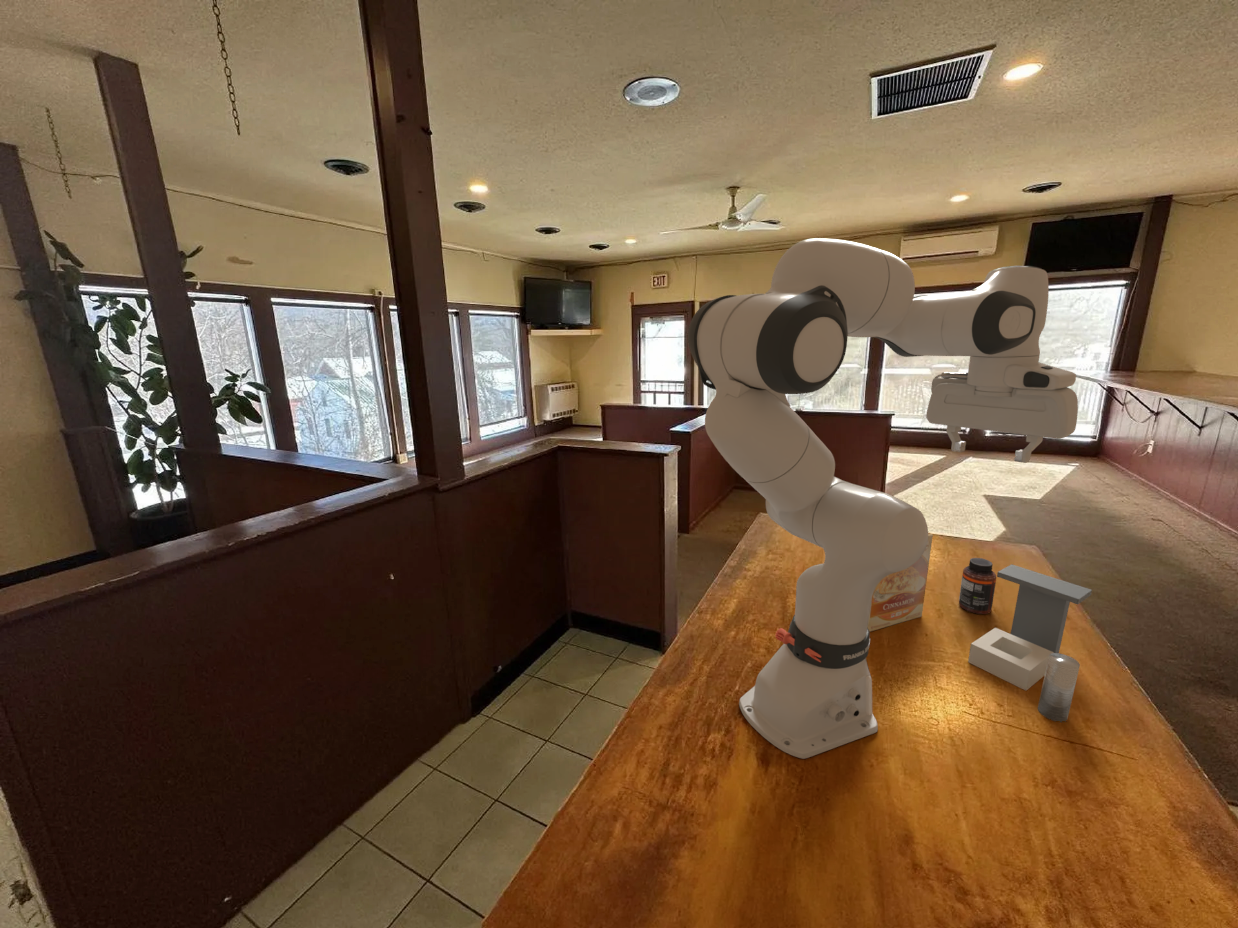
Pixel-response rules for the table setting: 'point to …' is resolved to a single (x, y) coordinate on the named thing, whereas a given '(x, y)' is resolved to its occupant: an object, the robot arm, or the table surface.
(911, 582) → the coffeecake box
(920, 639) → the table surface
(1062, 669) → the peg
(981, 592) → the supplement bottle
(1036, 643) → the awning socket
